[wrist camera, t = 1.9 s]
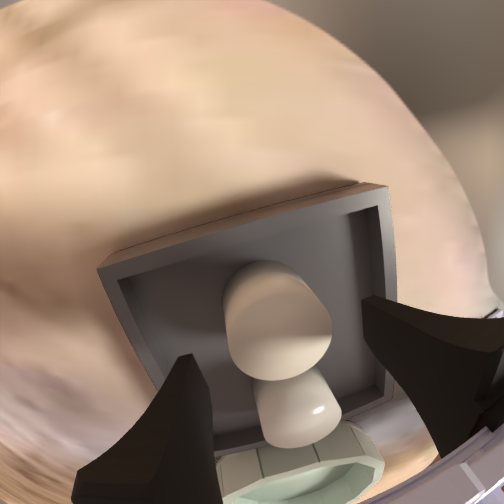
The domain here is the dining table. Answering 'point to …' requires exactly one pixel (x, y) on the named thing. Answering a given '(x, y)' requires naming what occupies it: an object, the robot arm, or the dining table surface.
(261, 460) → the bowl
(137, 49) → the dining table surface
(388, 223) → the tray
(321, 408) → the pebble
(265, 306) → the pebble
